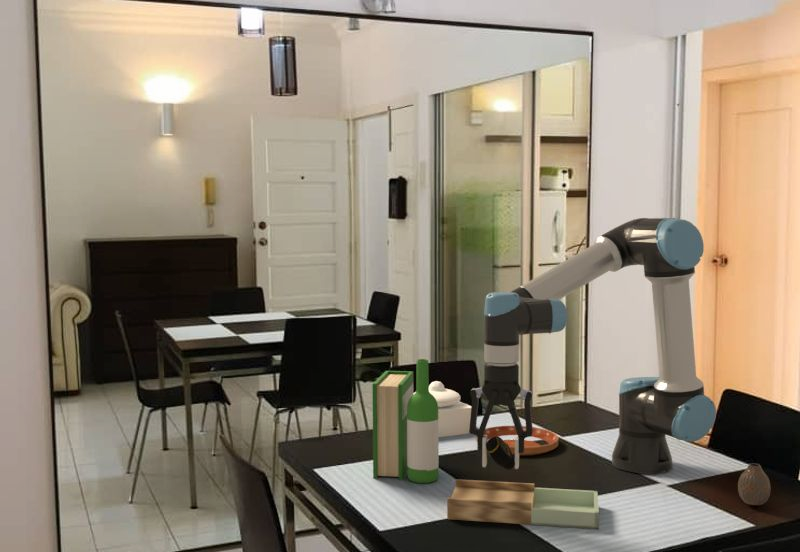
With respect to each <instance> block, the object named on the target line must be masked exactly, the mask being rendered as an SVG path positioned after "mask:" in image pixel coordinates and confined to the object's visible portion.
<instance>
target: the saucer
mask: <svg viewBox="0 0 800 552" xmlns="http://www.w3.org/2000/svg"><path fill="white" fill-rule="evenodd" d="M522 428H523V431H525V430H526V425H522ZM532 428H533V433H532V436H531V438H535V439H540V440H541V441H542V440H543V441H545V442H546V443H548V444H544V445H543V444H542V445H541V444H539V443H537V442H535V441H531V440H527V439H524V452H523V453H519V456H535V455H541V454H545V453H548V452H550V451H553V450H554V449H556V448H557V447H559V441H560V440H559V436H558V435H557V433H555V432H553V431H552V430H551V431H550V430H548V429H544V428H540V427H534V426H532ZM484 435H487V441H488V440H489V439H491V438H492V437H494V436H498V437H502V436H518V435H517V432H516V429H515V426H514V425H500V426H490V427H486V428H485V431H484ZM502 440H503V439H502ZM503 441H504V442H505V443H507V444H508V446H509V448H510V450H511V452H512V455H513V456H515V440H514V439H513V440H510V439H504V440H503ZM477 442H478V438H477V437H476V443H477Z"/></svg>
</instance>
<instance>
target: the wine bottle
mask: <svg viewBox="0 0 800 552" xmlns="http://www.w3.org/2000/svg"><path fill="white" fill-rule="evenodd" d="M429 377H430V376H429V360H428V359H426V358H424V359H423V358H422V359H421V358H420V359H419V358H418V359H417V360H416V388H415V389H416V390H415V392H416V393H415V392H414V393H415V394H413V395H412V396H411V398H410V399H409V401H408V405H407V472H406V474H407V478H408V480H409V481H411V482H413V483H417V484H429V483H433V482H436V480H438V478H439V463H440V461H439V456H440V455H439V437H438V403H437V401H436V399H435V397H434V396H433V395H432V394H431V393H430V392H429V385H430V384H429V381H430V379H429Z"/></svg>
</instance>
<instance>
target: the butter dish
mask: <svg viewBox="0 0 800 552" xmlns="http://www.w3.org/2000/svg"><path fill="white" fill-rule="evenodd" d="M429 392H430V393H431V394H432V395H433V396H434V397H435V399H436V401H437V403H438V438H443V437H453V436H458V435H459V436H460V435H468V434H470V432H469V428H470V418H471V407H472V405H469V404H468V403H464V402H462V401H461V395H460V394H459V392H456V391H455V390H453V389H450V388H449V389H448V388H445V385H444V384H443V383H442V382H441V381H438V380H435V381H432V382H431V383H430V384H429ZM415 393H416V391H415V392H413V394H415Z"/></svg>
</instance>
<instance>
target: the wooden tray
mask: <svg viewBox="0 0 800 552" xmlns="http://www.w3.org/2000/svg"><path fill="white" fill-rule="evenodd" d="M534 488H535V483H532V482H531V483H527V482H513V481H511V482H509V481H496V480H495V481H494V480H493V481H492V480H479V479H477V480H474V479H459V478H458V479H457V478H456V479H455V487H454V489H453V492H452V494H451V497H447V498H446V501H447V502H446V503H447V504H446V505H447V506H446V508H447V511H446V514H447V515H446V517H447V518H446V519H447V520H459V521H471V522H473V521H474V522H483V523H484V522H487V523H499V524H500V523H503V524H516V525H520V524H521V525H531V508H533V507H534ZM531 526H532V525H531Z"/></svg>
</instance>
